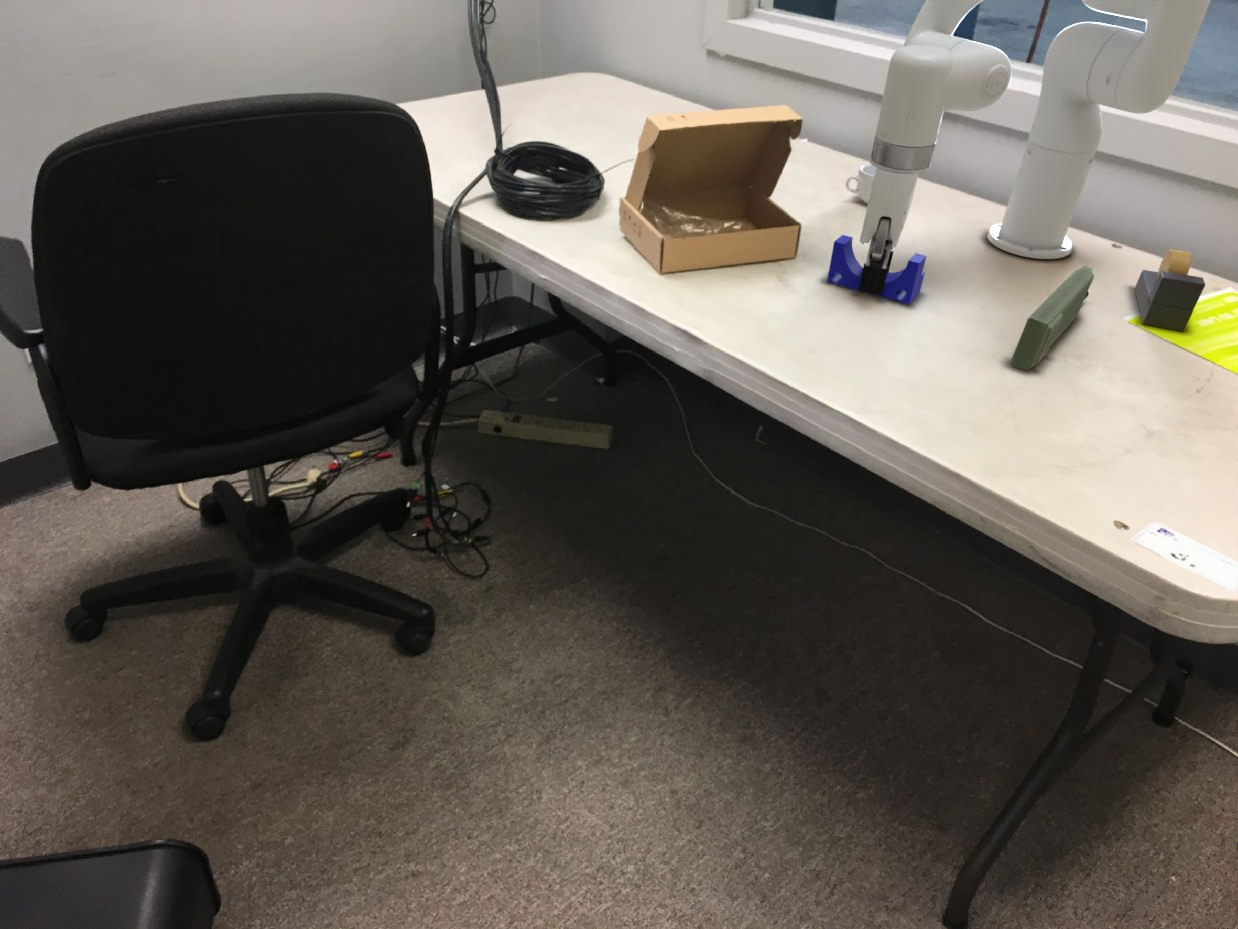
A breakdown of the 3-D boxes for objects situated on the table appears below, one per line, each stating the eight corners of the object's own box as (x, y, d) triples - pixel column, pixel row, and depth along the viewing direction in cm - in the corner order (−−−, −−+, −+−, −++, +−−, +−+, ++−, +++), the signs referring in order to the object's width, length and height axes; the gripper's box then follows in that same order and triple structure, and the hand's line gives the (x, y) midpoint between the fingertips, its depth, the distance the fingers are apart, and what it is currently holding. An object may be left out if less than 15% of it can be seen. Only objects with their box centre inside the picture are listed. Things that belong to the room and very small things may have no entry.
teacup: (888, 193, 154) (895, 162, 151) (906, 209, 148) (913, 177, 145) (835, 194, 153) (840, 163, 149) (850, 210, 147) (856, 178, 143)
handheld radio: (1005, 363, 106) (1067, 297, 122) (1031, 373, 105) (1091, 305, 120) (1024, 315, 102) (1086, 253, 118) (1052, 325, 100) (1111, 261, 116)
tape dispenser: (1134, 288, 125) (1156, 235, 120) (1172, 295, 124) (1196, 242, 119) (1142, 324, 116) (1167, 268, 111) (1183, 331, 115) (1210, 275, 110)
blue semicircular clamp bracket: (919, 292, 121) (930, 251, 117) (909, 304, 118) (919, 263, 114) (839, 270, 126) (846, 231, 122) (826, 281, 123) (834, 241, 119)
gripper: (881, 131, 118) (855, 257, 129) (862, 169, 105) (836, 304, 116) (937, 138, 116) (907, 265, 127) (926, 178, 103) (893, 315, 114)
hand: (873, 283), depth 121 cm, fingers closed on blue semicircular clamp bracket, 4 cm apart
